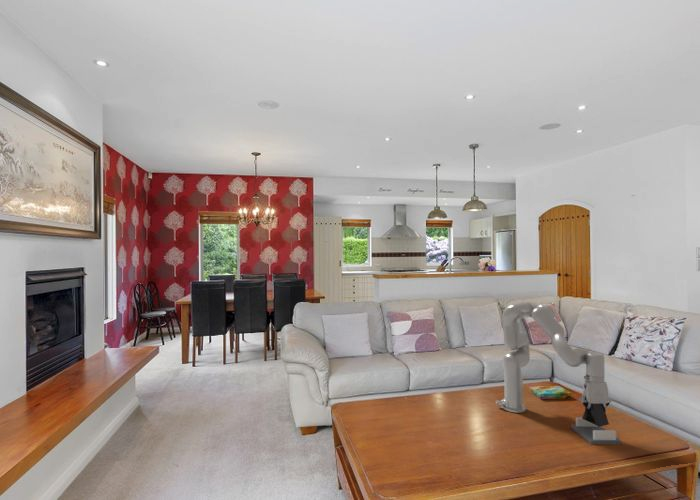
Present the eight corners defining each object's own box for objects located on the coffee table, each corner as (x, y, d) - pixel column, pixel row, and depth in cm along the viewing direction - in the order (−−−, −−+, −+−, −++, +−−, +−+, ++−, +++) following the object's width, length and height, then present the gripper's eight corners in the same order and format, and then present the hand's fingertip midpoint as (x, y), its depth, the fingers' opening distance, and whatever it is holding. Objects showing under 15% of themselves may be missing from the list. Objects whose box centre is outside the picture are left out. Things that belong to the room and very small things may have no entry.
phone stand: (582, 418, 184) (582, 394, 184) (591, 416, 186) (591, 392, 186) (599, 426, 175) (599, 401, 175) (609, 424, 177) (608, 399, 177)
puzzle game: (529, 385, 235) (559, 384, 236) (529, 393, 235) (559, 392, 236) (540, 392, 223) (571, 391, 225) (540, 400, 223) (571, 399, 225)
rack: (591, 444, 173) (591, 432, 173) (570, 427, 189) (570, 416, 189) (621, 444, 173) (621, 432, 173) (598, 427, 189) (598, 416, 189)
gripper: (582, 381, 177) (582, 419, 177) (618, 381, 177) (618, 419, 177) (572, 375, 184) (572, 412, 184) (607, 375, 184) (607, 412, 184)
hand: (595, 415), depth 181 cm, fingers closed on phone stand, 6 cm apart
